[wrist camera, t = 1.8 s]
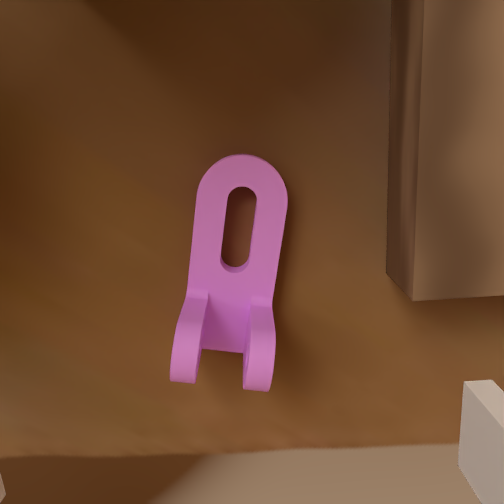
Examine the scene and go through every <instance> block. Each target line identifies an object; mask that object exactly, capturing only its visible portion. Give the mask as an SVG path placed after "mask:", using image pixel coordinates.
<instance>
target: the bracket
mask: <svg viewBox="0 0 504 504" xmlns="http://www.w3.org/2000/svg"><path fill="white" fill-rule="evenodd" d="M241 186H242V187H248V188H250V189H251V190H252V191H253V192H254V193H255V194H256V197H257V202H256V209H255V216H254V223H253V230H252V237H251V245H250V252H249V258H248V260H247V262H246V263H245V264H243V265H242V266H239V267H231V266H228V265H227V264H225V263H224V261H223V260H222V257H221V248H222V240H223V232H224V224H225V215H226V207H227V199H228V195H229V193H230V192H231V191H232V190H233V189H235V188H237V187H241ZM287 204H288V197H287V191H286V187H285V184H284V182H283V180H282V178H281V176H280V175H279V173H278V172H277V170H276V169H275V168H274V167H273V166H272V165H271V164H270V163H268V162H267V161H265V160H264V159H262V158H260V157H257V156H254V155H250V154H234V155H230V156H227V157H224V158H222V159H220V160H219V161H217V162H216V163H215V164H213V165H212V166H211V167H210V168H209V169H208V171H207V172H206V173H205V175H204V176H203V178H202V180H201V182H200V184H199V187H198V191H197V198H196V208H195V217H194V227H193V237H192V247H191V256H190V266H189V276H188V286H187V293H186V298H185V301H184V304H183V307H182V310H181V313H180V316H179V319H178V322H177V326H176V331H175V336H174V342H173V349H172V356H171V365H170V381H175V382H184V383H193V384H195V383H196V378H197V372H198V367H199V362H200V357H201V351H202V349H210V350H219V351H228V352H237V353H243V389H247V390H256V391H265V392H268V391H269V389H270V385H271V381H272V375H273V369H274V360H275V347H276V332H275V325H274V318H273V311H272V300H273V293H274V287H275V281H276V275H277V268H278V262H279V256H280V249H281V243H282V237H283V230H284V224H285V218H286V212H287Z"/></svg>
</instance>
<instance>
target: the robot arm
mask: <svg viewBox="0 0 504 504" xmlns="http://www.w3.org/2000/svg"><path fill="white" fill-rule="evenodd" d="M458 467H459V468H460V470H461V472H462V473H463V474H464V476H465V478H466V480H467V481H468V483H469V484H470V486H471V487H472V489H473V491H474V493H475V494H476V496H477V497H478V499H479V501H480V502H481V504H504V392H503V391H502V390H501V389H500V388H499V387H498V385H497V384H496V383H495V382H494V381H493V380H480V381H464V386H463V400H462V414H461V428H460V442H459V455H458ZM5 495H6V493H5V489H4V486H3V482H2V478H1V474H0V503H1V501H2V500H3V498H4V496H5Z"/></svg>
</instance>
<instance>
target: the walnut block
mask: <svg viewBox="0 0 504 504" xmlns="http://www.w3.org/2000/svg"><path fill="white" fill-rule="evenodd" d="M386 273H387V274H388V275H389V276H390V278H391V279H392V280H393V281H394V282H395V283H396V284H397V285H398V286H399V287H400V288H401V289H402V290H403V291H404V292H405V294H406V295H407V296H408V297H409V298H410V299H411V300H412V301H424V300H440V299H455V298H471V297H486V296H501V295H504V0H392V14H391V62H390V111H389V159H388V208H387V256H386Z"/></svg>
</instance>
